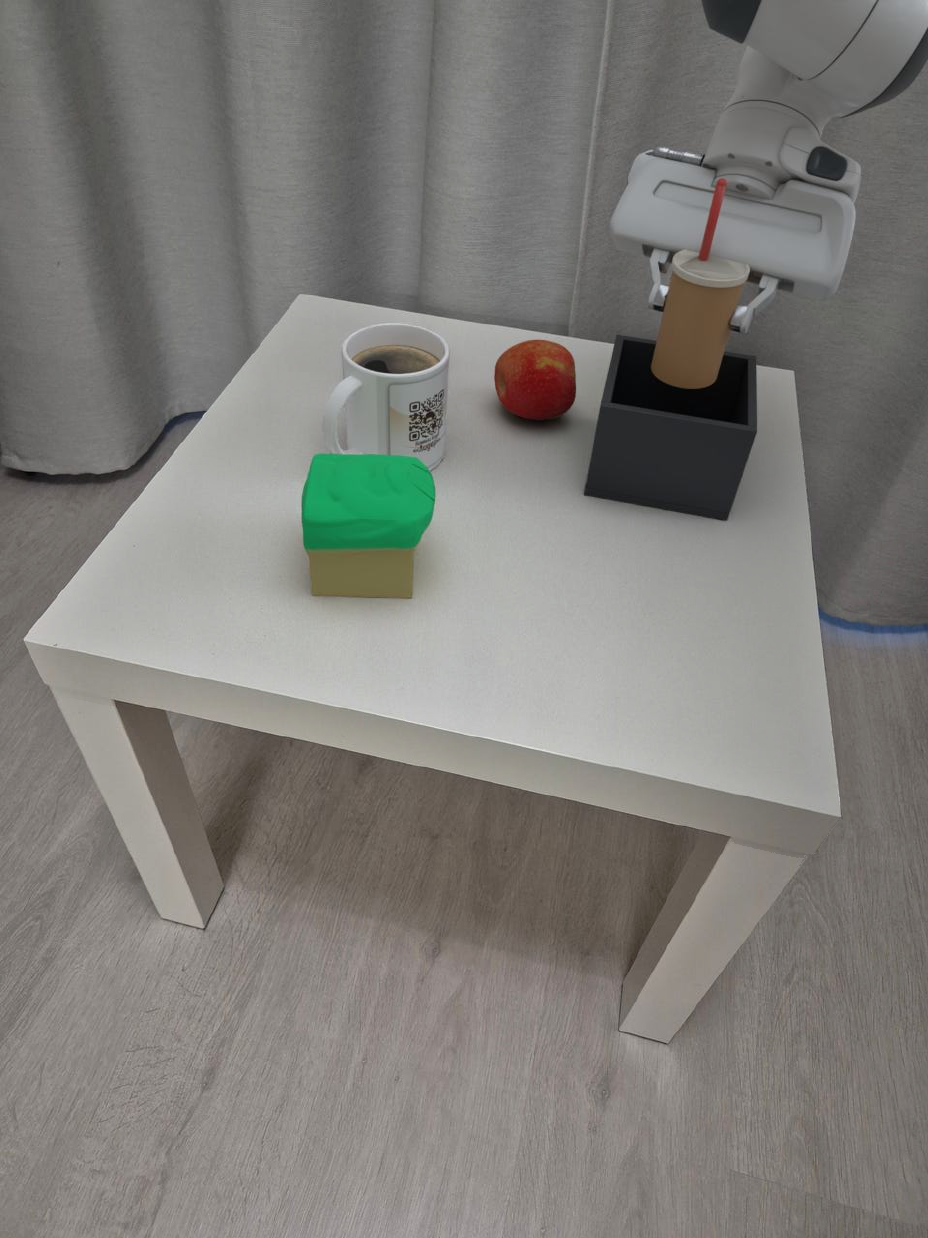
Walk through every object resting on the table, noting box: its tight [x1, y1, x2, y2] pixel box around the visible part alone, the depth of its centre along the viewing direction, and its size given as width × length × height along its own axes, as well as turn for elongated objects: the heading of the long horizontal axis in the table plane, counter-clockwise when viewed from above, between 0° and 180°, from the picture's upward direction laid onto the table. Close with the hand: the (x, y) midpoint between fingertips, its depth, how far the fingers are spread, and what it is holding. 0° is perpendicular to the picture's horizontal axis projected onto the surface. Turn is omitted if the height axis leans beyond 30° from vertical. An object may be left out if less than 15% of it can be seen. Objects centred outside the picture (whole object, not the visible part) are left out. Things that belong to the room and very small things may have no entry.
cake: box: [301, 452, 436, 599], centre depth 72 cm, size 10×11×10 cm
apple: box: [493, 339, 577, 421], centre depth 91 cm, size 8×8×8 cm
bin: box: [583, 334, 758, 521], centre depth 84 cm, size 14×14×10 cm
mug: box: [322, 322, 450, 472], centre depth 83 cm, size 10×12×11 cm
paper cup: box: [651, 178, 750, 389], centre depth 74 cm, size 6×6×16 cm
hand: (696, 318), depth 76 cm, fingers closed on paper cup, 6 cm apart
